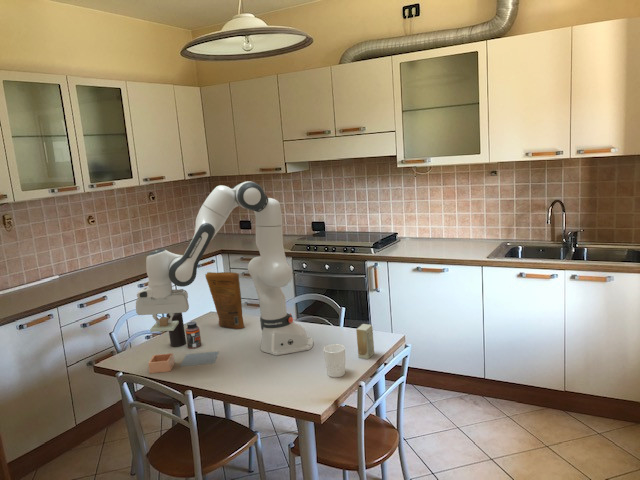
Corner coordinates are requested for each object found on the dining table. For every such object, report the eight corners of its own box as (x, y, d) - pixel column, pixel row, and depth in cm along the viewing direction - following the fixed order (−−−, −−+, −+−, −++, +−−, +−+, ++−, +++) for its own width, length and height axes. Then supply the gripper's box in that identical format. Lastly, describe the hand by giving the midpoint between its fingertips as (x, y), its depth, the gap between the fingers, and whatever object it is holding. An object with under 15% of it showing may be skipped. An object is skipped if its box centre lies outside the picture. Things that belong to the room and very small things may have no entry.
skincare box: (365, 351, 212) (362, 323, 209) (374, 353, 210) (372, 324, 207) (357, 358, 206) (355, 328, 204) (367, 359, 204) (365, 330, 202)
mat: (219, 352, 224) (218, 351, 224) (214, 364, 212) (214, 363, 212) (186, 355, 223) (185, 354, 223) (180, 367, 212) (179, 366, 212)
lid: (178, 323, 214) (177, 314, 214) (173, 330, 206) (172, 321, 205) (156, 324, 214) (155, 315, 213) (150, 331, 205) (149, 322, 205)
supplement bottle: (198, 349, 229) (194, 325, 227) (185, 349, 230) (182, 325, 228) (203, 344, 235) (200, 320, 232) (191, 344, 236) (188, 320, 234)
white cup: (334, 367, 200) (332, 342, 198) (351, 371, 195) (349, 346, 193) (321, 375, 194) (319, 350, 192) (338, 380, 189) (336, 354, 187)
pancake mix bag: (241, 331, 247) (234, 274, 241) (210, 327, 256) (203, 271, 251) (250, 326, 252) (243, 270, 247) (220, 322, 262) (213, 268, 257)
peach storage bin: (174, 364, 216) (173, 353, 215) (170, 373, 208) (168, 361, 207) (155, 366, 215) (153, 355, 214) (150, 374, 207) (148, 363, 206)
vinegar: (187, 346, 234) (181, 303, 231) (172, 349, 232) (166, 306, 228) (184, 341, 240) (178, 299, 237) (169, 344, 238) (163, 302, 234)
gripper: (188, 286, 211) (192, 319, 213) (137, 289, 210) (141, 322, 212) (185, 290, 204) (188, 324, 207) (132, 294, 204) (136, 328, 206)
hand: (164, 323), depth 210 cm, fingers closed on lid, 3 cm apart
